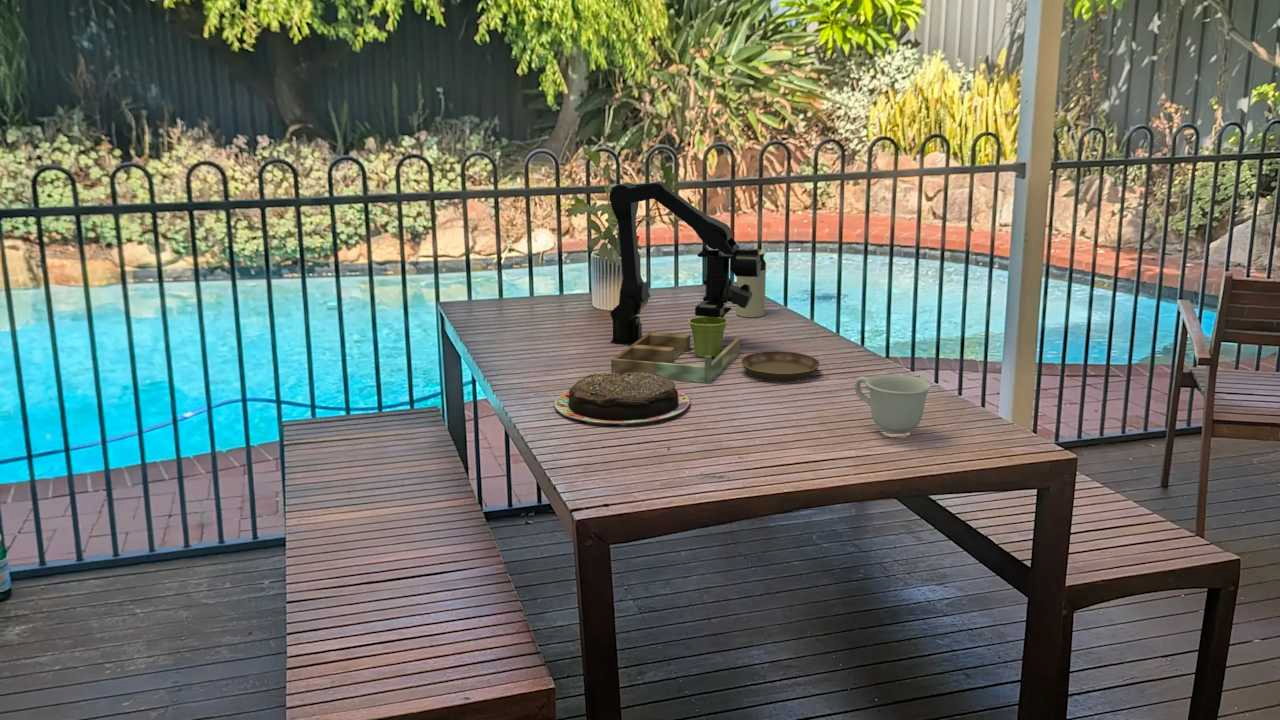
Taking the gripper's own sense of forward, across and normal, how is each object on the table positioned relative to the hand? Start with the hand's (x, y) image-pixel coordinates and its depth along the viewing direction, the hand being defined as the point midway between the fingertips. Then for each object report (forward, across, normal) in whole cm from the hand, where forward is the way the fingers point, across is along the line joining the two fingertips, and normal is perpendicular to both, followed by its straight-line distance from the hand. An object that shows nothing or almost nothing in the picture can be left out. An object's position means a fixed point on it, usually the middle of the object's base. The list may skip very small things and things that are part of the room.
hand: (716, 337), depth 268 cm
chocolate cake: (+3, -52, +6) cm, 53 cm away
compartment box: (+2, -17, +5) cm, 18 cm away
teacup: (+3, -52, -48) cm, 71 cm away
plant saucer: (+3, -18, -20) cm, 27 cm away
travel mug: (+3, +38, 0) cm, 38 cm away
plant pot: (+3, -8, 0) cm, 9 cm away
